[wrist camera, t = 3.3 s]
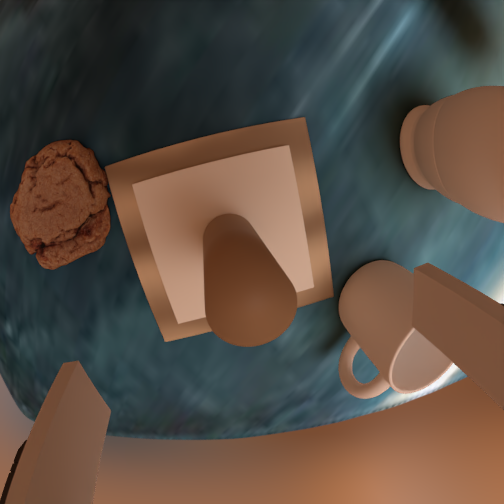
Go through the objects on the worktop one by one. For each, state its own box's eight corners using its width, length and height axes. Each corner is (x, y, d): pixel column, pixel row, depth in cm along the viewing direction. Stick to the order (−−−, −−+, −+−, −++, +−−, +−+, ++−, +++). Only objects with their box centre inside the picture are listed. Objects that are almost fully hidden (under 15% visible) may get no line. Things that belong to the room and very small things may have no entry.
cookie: (119, 140, 21) (108, 137, 18) (114, 267, 24) (104, 281, 21) (21, 142, 19) (2, 142, 16) (21, 258, 22) (5, 269, 19)
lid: (134, 183, 21) (72, 211, 10) (286, 145, 22) (361, 139, 11) (178, 319, 25) (170, 422, 14) (311, 283, 26) (376, 364, 15)
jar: (467, 183, 27) (576, 214, 12) (402, 212, 26) (529, 265, 12) (446, 90, 23) (563, 83, 9) (375, 103, 23) (514, 83, 8)
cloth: (106, 166, 21) (104, 167, 20) (303, 117, 22) (304, 117, 22) (165, 339, 26) (165, 341, 26) (332, 294, 28) (333, 296, 27)
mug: (349, 366, 31) (391, 429, 21) (295, 341, 29) (333, 416, 19) (416, 281, 29) (480, 326, 19) (371, 241, 27) (444, 284, 17)
